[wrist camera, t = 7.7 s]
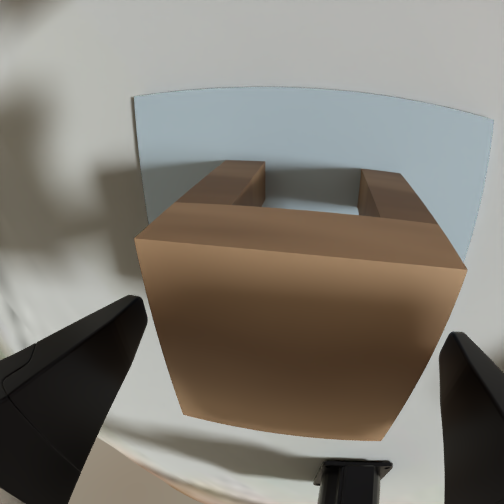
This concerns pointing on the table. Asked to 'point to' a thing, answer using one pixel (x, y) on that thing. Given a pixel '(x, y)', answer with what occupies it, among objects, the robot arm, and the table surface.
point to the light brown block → (297, 303)
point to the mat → (316, 148)
